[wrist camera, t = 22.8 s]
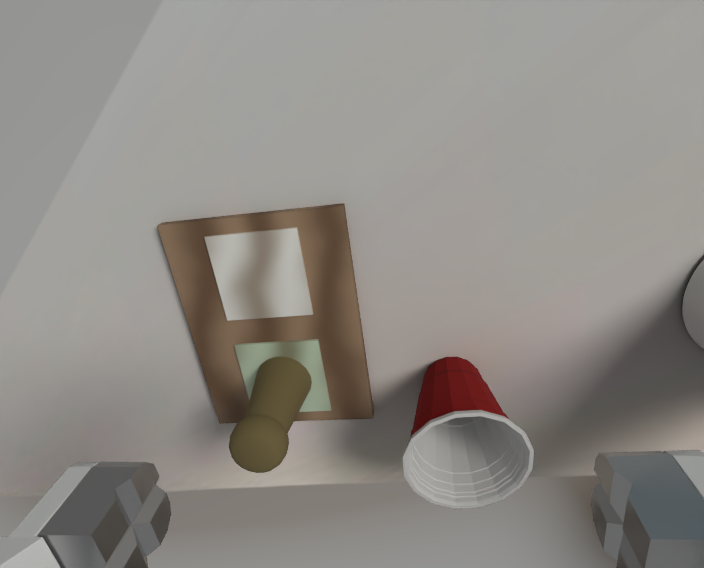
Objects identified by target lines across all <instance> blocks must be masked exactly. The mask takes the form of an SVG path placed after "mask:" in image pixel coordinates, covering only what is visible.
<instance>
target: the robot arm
mask: <svg viewBox="0 0 704 568" xmlns="http://www.w3.org/2000/svg"><path fill="white" fill-rule="evenodd" d="M682 312H683V320H684V324H685V326H686V329H687V331H688V333H689V334H690V336H691V337H692V339H693V340H694V341H695V342H696V343H697V344H698V345H699V346H700V347H702V348H703V349H704V260H703V261H702V262H701V263H700V265H699V266H698V267H697V269H696V270H695V272H694V273H693V275H692V277H691V279H690V281H689V283H688V285H687V288H686V290H685V294H684V298H683V306H682ZM594 471H595V473H596V475H597V477H598V479H599V481H600V482H599V484H597V485H596V486H595V487H594V488H593V489H592V496H591V508H592V515H593V521H594V525H595V528H596V532H597V535H598V537H599V540H600V542H601V545H602V547H603V549H604V551H606V552H607V553H608V554H609V555H610V556H611V557H613V558H614V559H615V560H616V561H617V567H616V568H704V453H703V452H701V451H700V450H678V451H664V452H662V451H644V452H610V453H599V454H598V455H597V457H596V460H595V467H594ZM158 478H159V474H158V472H157V470H156V468H155V466H154V464H152V463H147V462H78V463H76V464H74V465H72V466H70V467H69V468H68V469H67V470H66V471H65V472H64V474H63V475H62V476H61V477H60V478H59V479H58V480H57V482H56V483H55V484H54V485H53V486H52V487H51V488H50V490H49V491H48V492H47V493H46V494H45V495H44V497H43V498H42V499H41V500H40V501H39V502H38V504H37V505H36V506H35V507H34V508H33V509H32V510H31V511H30V513H29V514H28V515H27V516H26V517H25V518H24V520H23V521H22V522H21V523H20V524H19V525H18V527H17V528H16V529H15V530H14V531H13V532H12V533H11V535H10V536H7V537H0V568H148V563H147V556H148V555H149V554H150V553H152V552H153V551H154V550H155V549H156V548H158V547H159V546H160V545H161V543H162V541H163V539H164V537H165V534H166V532H167V530H168V525H169V521H170V516H171V509H170V501H169V499H168V496H167V493H166V492H164V491H163V490H162V489H161V488H159V487H158V486H157V485H156V483H157V481H158Z"/></svg>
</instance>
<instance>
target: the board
mask: <svg viewBox="0 0 704 568" xmlns="http://www.w3.org/2000/svg"><path fill="white" fill-rule="evenodd" d="M157 227H158V230H159V233H160V237H161V240H162V243H163V246H164V249H165V252H166V255H167V259H168V262H169V265H170V268H171V271H172V274H173V278H174V281H175V284H176V287H177V290H178V293H179V296H180V300H181V303H182V306H183V309H184V312H185V315H186V318H187V322H188V325H189V328H190V331H191V334H192V337H193V340H194V344H195V347H196V350H197V353H198V356H199V359H200V363H201V366H202V369H203V372H204V375H205V378H206V381H207V385H208V388H209V391H210V394H211V397H212V400H213V403H214V407H215V410H216V413H217V416H218V419H219V422H220V423H239V422H240V421H241V420H242V419H244V418H245V415H246V411H247V408H248V404H249V400H250V397H251V393H252V389H253V386H254V382H255V378H256V374H257V371H258V369H259V367H260V365H261V364H262V363H263V362H265V361H266V360H268V359H270V358H273V357H287V358H292V359H294V360H296V361H298V362H300V363H301V364H302V365H303V366H304V367H305V368H306V369H307V370H308V372H309V374H310V376H311V381H312V384H311V390H310V391H309V393H308V395H307V397H306V399H305V401H304V403H303V405H302V407H301V408H300V410H299V412H298V414H297V416H296V418H295V420H294V421H306V420H337V419H367V418H373V415H374V410H373V403H372V396H371V389H370V382H369V375H368V368H367V361H366V354H365V347H364V340H363V333H362V326H361V319H360V312H359V305H358V298H357V290H356V283H355V276H354V269H353V262H352V255H351V248H350V241H349V234H348V227H347V220H346V213H345V206H344V204H335V205H325V206H316V207H306V208H297V209H287V210H278V211H268V212H259V213H250V214H240V215H231V216H221V217H212V218H202V219H193V220H183V221H174V222H164V223H161V224H159V225H158V226H157Z"/></svg>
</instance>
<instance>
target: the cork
mask: <svg viewBox="0 0 704 568" xmlns="http://www.w3.org/2000/svg"><path fill="white" fill-rule="evenodd" d="M311 384H312V381H311V376H310V374H309V372H308V370H307V369H306V368H305V367H304V366H303V365H302V364H301V363H300V362H298V361H296V360H294V359H292V358H287V357H273V358H270V359H268V360H266V361H265V362H263V363H262V364H261V365H260V367H259V369H258V371H257V374H256V378H255V382H254V386H253V389H252V393H251V397H250V400H249V404H248V408H247V411H246V415H245V418H244V419H242V420H241V421H240V422H239V423H238V424H237V425H236V426H235V428H234V430H233V432H232V434H231V436H230V442H229V449H230V452H231V456H232V458H233V459H234V461H235V462H236V463H237V464H238V465H239V466H240V467H242V468H244V469H246V470H248V471H251V472H256V473H264V472H268V471H271V470H272V469H274V468H275V467H277V466H278V465H280V463H281V462H282V460H283V459H284V457H285V456H286V453H287V450H288V444H289V439H288V434H287V433H288V431H289V429H290V427H291V426H292V424H293V422H294V420H295V418H296V416H297V414H298V412H299V410H300V408H301V407H302V405H303V403H304V401H305V399H306V397H307V395H308V393H309V391H310V390H311Z"/></svg>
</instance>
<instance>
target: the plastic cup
mask: <svg viewBox="0 0 704 568" xmlns="http://www.w3.org/2000/svg"><path fill="white" fill-rule="evenodd" d="M533 458H534V449H533V447H532V445H531V443H530V441H529V439H528V437H527V435H526V433H525V432H524V431H523V430H522V429H521V428H520V427H518V426H517V425H516V424H514V423H513V422H512V421H511V420H509V419H508V417H507V416H506V414H505V413H503V411H502V409H501V407H500V406H499V404H498V402H497V401H496V399H495V397H494V396H493V394H492V392H491V391H490V389H489V387H488V385H487V384H486V382H484V381H483V379H482V377H481V375H480V373H479V371H478V369H477V368H475V366H474V365H472V364H471V363H470V362H469V361H467V360H465V359H462V358H459V357H445V358H443V359H440V360H437V361H435V362H434V363H433V364H432V365H431V366H430V367H429V368H428V370H427V372H426V374H425V376H424V378H423V383H422V388H421V392H420V394H419V399H418V404H417V409H416V415H415V420H414V425H413V429H412V431H411V438H410V440H409V443H408V445H407V447H406V450H405V452H404V454H403V470H404V477H405V479H406V480H407V482H408V483H409V485H410V486H411V487H412V489H413V491H414V492H415V493H417V494H418V495H420V496H422V497H423V498H425V499H426V500H428V501H430V502H431V503H433V504H437V505H441V506H445V507H449V508H454V509H462V508H480V507H483V506H486V505H489V504H492V503H495V502H498V501H501V500H503V499H505V498H506V497H507V496H509V495H510V494H512V493H513V492H515V491H516V490H517V489H519V488H520V487H521V486H522V485H523V483H524V482H525V480H526V479H527V477H528V476H529V474H530V473H531V471H532V469H533Z"/></svg>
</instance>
